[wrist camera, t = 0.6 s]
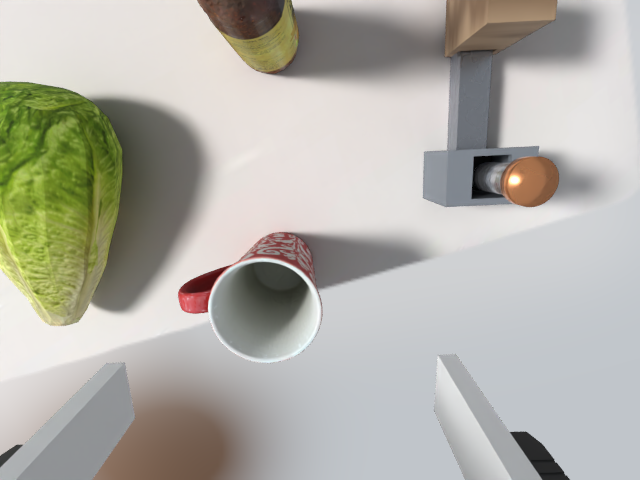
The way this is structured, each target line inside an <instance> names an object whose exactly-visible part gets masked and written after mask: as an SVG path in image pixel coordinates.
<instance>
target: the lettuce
mask: <svg viewBox="0 0 640 480" xmlns="http://www.w3.org/2000/svg"><path fill="white" fill-rule="evenodd" d="M121 183H122V148H121V146H120V143H119V141H118V139H117V137H116V134H115V132H114V130H113V127H112V125H111V123H110V120H109V118H108V117H107V116H106V115H105V114H104V113H103V112H102V111H101V110H100V109H99V108H98V107H97V106H96V105H95V104H94V103H93V102H91V101H90V100H88V99H86V98H85V97H83V96H81V95H80V94H78V93H76V92H73V91H70V90H67V89H64V88H59V87H53V86H47V85H41V84H35V83H29V82H0V268H1V270H2V271H3V272H4V273H5V274H6V276H7V277H8V278H9V279H10V280H11V281H12V283H13V284H14V285H15V286H16V287H17V288H18V289H19V290H20V291H21V292H22V293H23V294H24V295H25V296H26V297H27V298H28V300H29V302H30V303H31V305H32V307H33V308H34V310H35V311H36V313H37V314H38V316H39V317H40V318H41V320H42V321H43V322H45V323H47V324H49V325H52V326H66V325H70V324H73V323H76V322H78V321H79V320H80V319H81V318H82V316H83V314H84V313H85V311H86V310H87V308H88V306H89V303H90V301H91V299H92V296H93V294H94V292H95V290H96V288H97V286H98V283H99V281H100V279H101V276H102V274H103V272H104V269H105V267H106V264H107V259H108V253H109V248H110V242H111V239H112V235H113V231H114V228H115V224H116V220H117V217H118V211H119V202H120V193H121Z"/></svg>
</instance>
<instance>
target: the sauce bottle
mask: <svg viewBox="0 0 640 480" xmlns="http://www.w3.org/2000/svg"><path fill="white" fill-rule="evenodd" d="M197 1H198V3H199V4H200V6H201V7H202V8H203V10H204V12H206V13H207V15H208V17H209V19H210V20H211V22H212V23H213V24H214V26H215V27H216V28H217V29H218V30H219V32H220V33H221V34H222V35H223V37H224V38H225V39H226V40H227V41H228V43H229V44H230V45H231V46H232V47H233V49H234V50H235V51H236V52H237V53H238V55H239V56H240V57H241V58H242V60H243V61H245V62H246V63H247V64H248V65H249V66H250V67H251V68H253V69H255V70H256V71H259V72H261V73H271V74H274V73H278V72H280V71H282V70H283V69H285V68H286V67H288V66H289V65H290V64H291V63H292V61H293V60H294V58H295V56H296V53H297V47H298V41H299V32H298V27H297V22H296V18H295V14H294V9H293V5H292V1H291V0H197Z"/></svg>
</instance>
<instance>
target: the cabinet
mask: <svg viewBox="0 0 640 480" xmlns="http://www.w3.org/2000/svg"><path fill="white" fill-rule="evenodd" d="M538 152H539V146H532V147H511V148H490V149H470V150H450V151H430V152H424V178H423V198H424V199H427V200H429V201H432V202H434V203H437V204H439V205H442V206H445V207H456V206H476V205H497V204H513V203H511V202H509V201H508V200H507V199H506V198H505V197H504V196H503V195H502V194H497V193H492V192H487V191H482V190H472V178H473V160H474V156H491V155H492V162H498V163H511V162H512V161H514V160H516V159H518V158H521V157H538Z"/></svg>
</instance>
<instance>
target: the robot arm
mask: <svg viewBox="0 0 640 480" xmlns="http://www.w3.org/2000/svg"><path fill="white" fill-rule="evenodd" d="M434 412H435V414H436V416H437V418H438V421H439V423H440V425H441V427H442V429H443V432H444V434H445V436H446V438H447V440H448V443H449V445H450V447H451V449H452V452H453V454H454V456H455V458H456V460H457V463H458V465H459V467H460V469H461V471H462V474H463V476H464V478H465V480H570V479H569V478H568V477H567V476H565V474H564V471H563V470H562V469H561V468H560V466H559V465H558V464H557V463H555V461H554V459H553V457H552V456H551V455H550V453H549V452H548V451H547V450H546V448H545V447H544V446H543V445H542V444H541V443H540V442H539V441H538V440H536V439H535V438H534V437H532V436H531V435H530V434H529V433H527V432H509V431H508V429H507V428H506V426H505V425H504V424H503V422H502V420H501V419H500V417H499V416H498V415H497V413H496V412H495V410H494V409H493V407H492V406H491V405H490V403H489V402H488V400H487V399H486V397H485V396H484V394H483V393H482V391H481V390H480V388H479V387H478V386H477V384H476V383H475V381H474V380H473V378H472V377H471V375H470V374H469V372H468V371H467V370H466V368H465V367H464V365H463V364H462V362H461V361H460V359H459V358H458V356H457V355H438V360H437V375H436V391H435V405H434ZM134 419H135V415H134V409H133V404H132V399H131V393H130V388H129V383H128V377H127V372H126V366H125V363H106V364H105V365H104V366H103V367H102V368H101V369H100V370H99V371H98V372H97V373H96V374H95V375H94V376H93V377H92V378H91V379H90V380H89V381H88V382H87V383H86V384H85V385H84V386H83V387H82V388H81V389H80V390H79V391H78V392H77V393H76V394H75V395H74V396H73V397H72V398H70V399H69V400H68V401H67V402H66V403H65V404H64V406H62V407H61V408H60V409H59V410H58V411H57V412H56V413H55V414H54V415H53V416H52V417H51V418H50V419H49V420H48V421H47V422H46V423H45V424H44V425H43V426H42V427H41V428H40V429H39V430H38V431H37V432H36V433H35V434H34V435H33V436H32V437H31V438H30V439H29V440H28V441H27V442H26V443H25V444H24V445H16V446H14V447H13V448H11V449H10V450H8V451H7V452H5V453H4V454H2V455H1V456H0V480H92V479H93V478H94V476H95V475H96V473H97V472H98V471H99V469H100V468H101V466H102V465H103V463H104V462H105V460H106V459H107V457H108V456H109V455H110V453H111V452H112V450H113V449H114V448H115V446H116V445H117V443H118V442H119V440H120V439H121V437H122V436H123V435H124V433H125V431H126V430H127V429H128V427H129V426H130V425H131V423H132V422H133V420H134Z"/></svg>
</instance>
